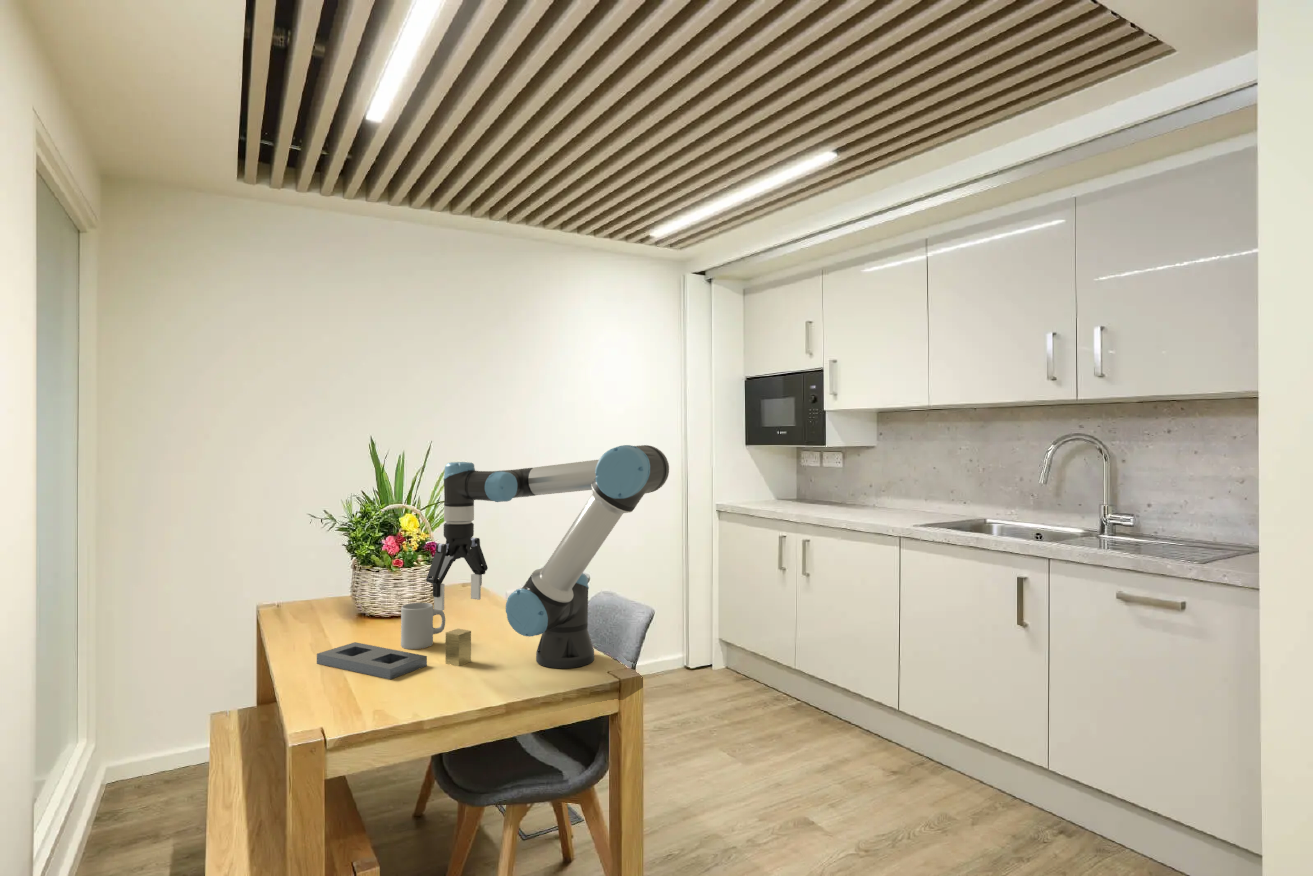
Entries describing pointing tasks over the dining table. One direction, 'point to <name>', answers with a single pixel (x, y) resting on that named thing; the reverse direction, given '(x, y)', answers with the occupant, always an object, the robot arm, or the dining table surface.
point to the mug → (419, 625)
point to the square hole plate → (372, 660)
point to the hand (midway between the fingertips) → (457, 604)
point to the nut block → (458, 647)
